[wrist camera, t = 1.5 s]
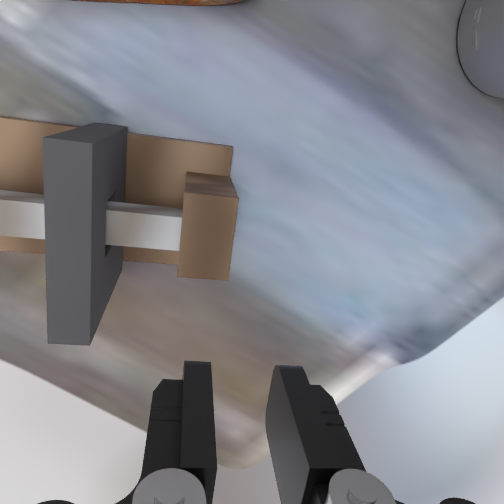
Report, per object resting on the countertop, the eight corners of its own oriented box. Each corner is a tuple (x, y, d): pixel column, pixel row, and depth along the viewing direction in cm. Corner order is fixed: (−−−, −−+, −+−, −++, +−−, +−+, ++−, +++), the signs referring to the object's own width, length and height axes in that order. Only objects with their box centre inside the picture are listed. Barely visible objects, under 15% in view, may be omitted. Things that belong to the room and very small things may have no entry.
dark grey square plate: (127, 126, 27) (92, 143, 18) (121, 269, 31) (89, 345, 21) (95, 122, 27) (42, 137, 18) (93, 267, 30) (47, 343, 21)
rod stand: (232, 146, 30) (243, 162, 23) (217, 263, 33) (224, 310, 26) (-154, 96, 26) (-288, 96, 19) (-130, 234, 29) (-238, 280, 22)
